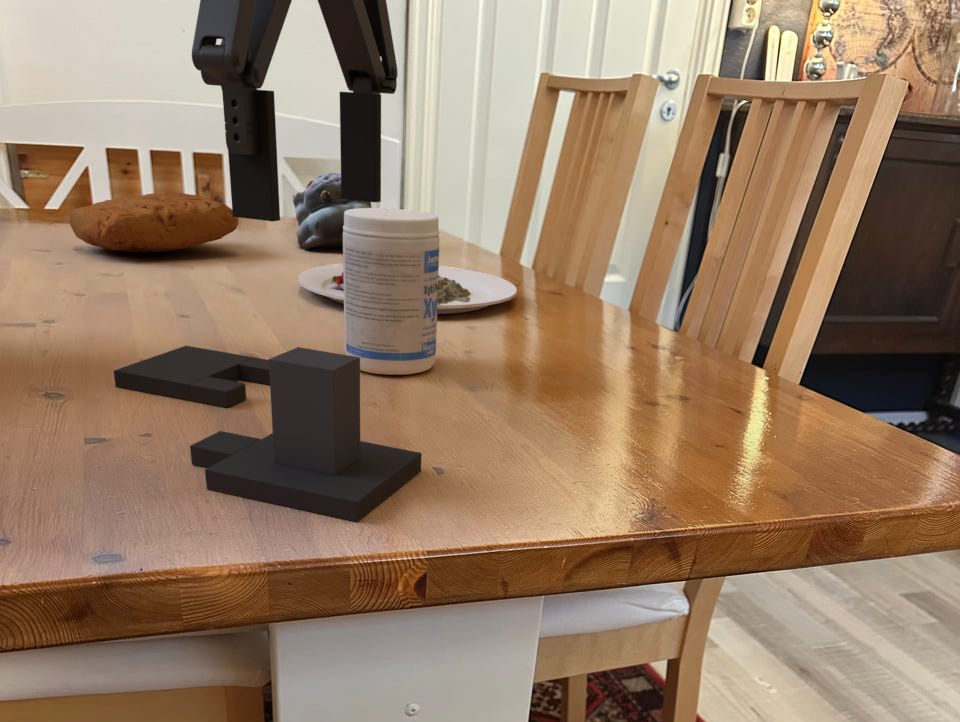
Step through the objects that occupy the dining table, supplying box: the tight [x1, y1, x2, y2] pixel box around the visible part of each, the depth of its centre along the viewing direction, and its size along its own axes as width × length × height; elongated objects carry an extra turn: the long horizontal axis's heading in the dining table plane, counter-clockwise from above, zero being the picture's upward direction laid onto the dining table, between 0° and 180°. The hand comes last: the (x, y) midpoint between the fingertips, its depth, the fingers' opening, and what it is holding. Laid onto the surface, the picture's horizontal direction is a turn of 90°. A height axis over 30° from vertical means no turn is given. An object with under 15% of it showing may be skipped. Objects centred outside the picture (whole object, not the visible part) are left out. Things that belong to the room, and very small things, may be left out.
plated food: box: [297, 262, 518, 315], centre depth 128 cm, size 30×30×3 cm
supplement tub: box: [342, 207, 440, 376], centre depth 94 cm, size 10×10×15 cm
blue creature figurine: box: [292, 172, 373, 251], centre depth 157 cm, size 15×12×14 cm
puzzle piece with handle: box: [189, 346, 423, 523], centre depth 67 cm, size 16×11×9 cm
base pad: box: [113, 345, 270, 409], centre depth 88 cm, size 12×11×2 cm
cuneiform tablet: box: [69, 192, 239, 254], centre depth 143 cm, size 22×17×8 cm
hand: (313, 209), depth 60 cm, fingers open, 13 cm apart
